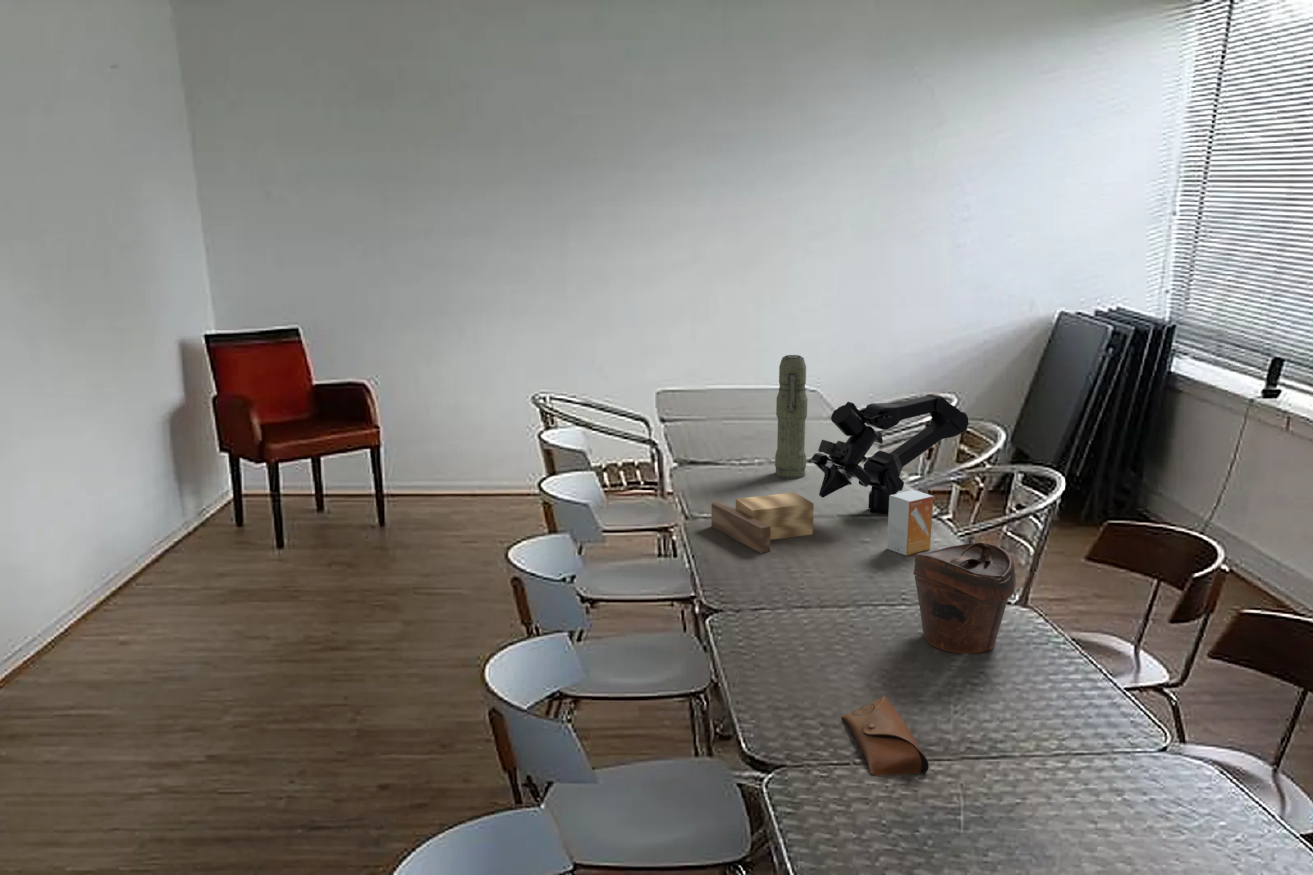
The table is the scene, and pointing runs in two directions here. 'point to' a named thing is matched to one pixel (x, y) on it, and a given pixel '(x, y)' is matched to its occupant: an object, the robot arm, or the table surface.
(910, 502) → the small box
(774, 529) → the oak block
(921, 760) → the sunglasses case
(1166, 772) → the table surface
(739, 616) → the table surface
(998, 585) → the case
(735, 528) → the walnut board
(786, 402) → the thermos
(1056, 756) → the table surface
